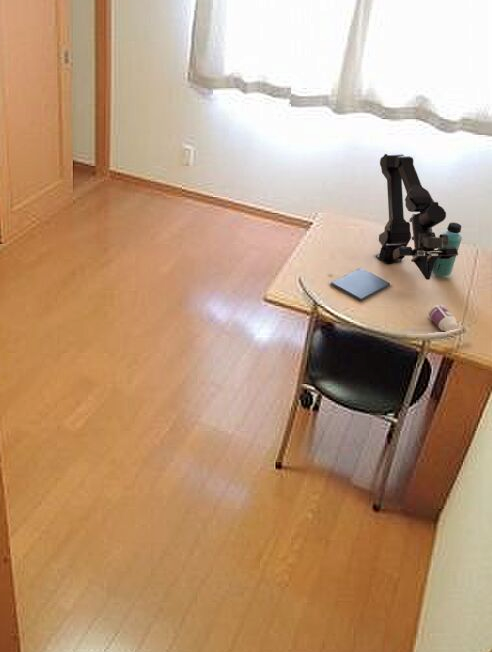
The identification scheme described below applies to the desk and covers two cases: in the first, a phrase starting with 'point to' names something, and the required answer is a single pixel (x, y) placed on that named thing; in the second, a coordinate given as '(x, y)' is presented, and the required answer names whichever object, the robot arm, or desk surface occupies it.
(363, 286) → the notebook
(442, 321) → the pill bottle
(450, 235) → the beverage bottle
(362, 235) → the desk surface
